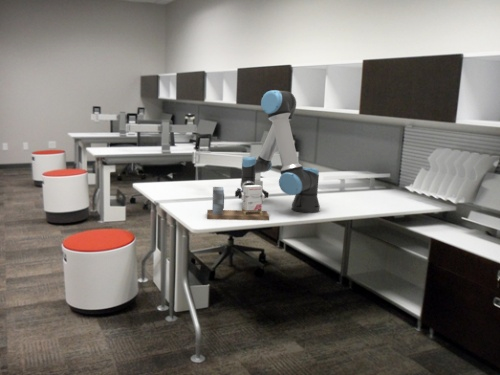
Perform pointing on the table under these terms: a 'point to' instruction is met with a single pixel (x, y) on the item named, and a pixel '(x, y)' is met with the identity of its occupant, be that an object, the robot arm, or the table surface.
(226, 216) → the wooden desk organizer
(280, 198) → the table surface
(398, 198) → the table surface
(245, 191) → the ink box
